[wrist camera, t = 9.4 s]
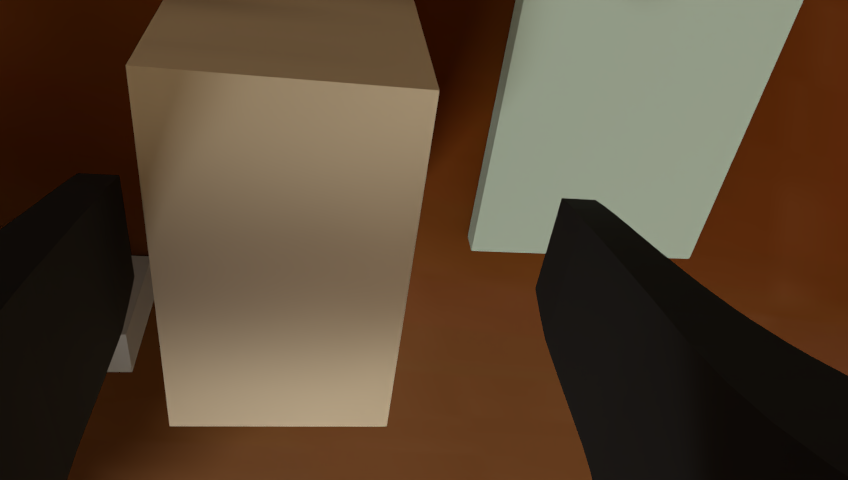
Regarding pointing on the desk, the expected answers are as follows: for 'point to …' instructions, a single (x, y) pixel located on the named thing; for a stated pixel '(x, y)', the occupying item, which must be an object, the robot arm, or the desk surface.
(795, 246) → the desk surface
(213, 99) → the block
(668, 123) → the mat
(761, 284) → the desk surface
